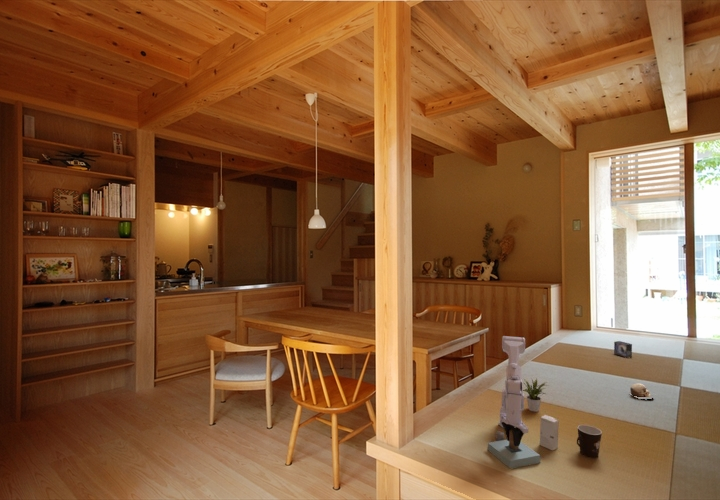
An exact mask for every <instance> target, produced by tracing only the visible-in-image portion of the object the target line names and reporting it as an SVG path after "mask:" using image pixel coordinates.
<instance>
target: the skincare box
mask: <svg viewBox="0 0 720 500" xmlns="http://www.w3.org/2000/svg"><path fill="white" fill-rule="evenodd" d="M559 427H560V419H558V418H555V417H552V416H550V415H548V414H543V415H542V416H541V417H540V427H539V429H540V430H539V445H540V446H542V447H544V448H545V449H548V450H550V451H554V450H557V449H558V448H559V447H558V446H559V431H560V430H559V429H560V428H559Z"/></svg>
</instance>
